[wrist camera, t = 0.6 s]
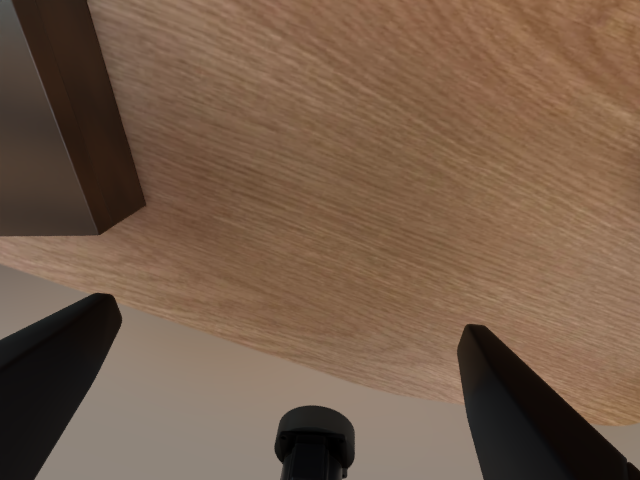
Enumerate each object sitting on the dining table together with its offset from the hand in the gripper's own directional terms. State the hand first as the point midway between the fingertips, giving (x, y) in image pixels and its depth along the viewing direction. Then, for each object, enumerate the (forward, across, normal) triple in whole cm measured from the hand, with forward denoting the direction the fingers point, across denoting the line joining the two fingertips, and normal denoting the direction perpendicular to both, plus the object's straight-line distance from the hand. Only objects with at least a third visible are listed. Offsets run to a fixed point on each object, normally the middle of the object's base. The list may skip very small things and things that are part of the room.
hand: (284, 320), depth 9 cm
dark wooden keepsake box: (+13, +17, -2) cm, 21 cm away
